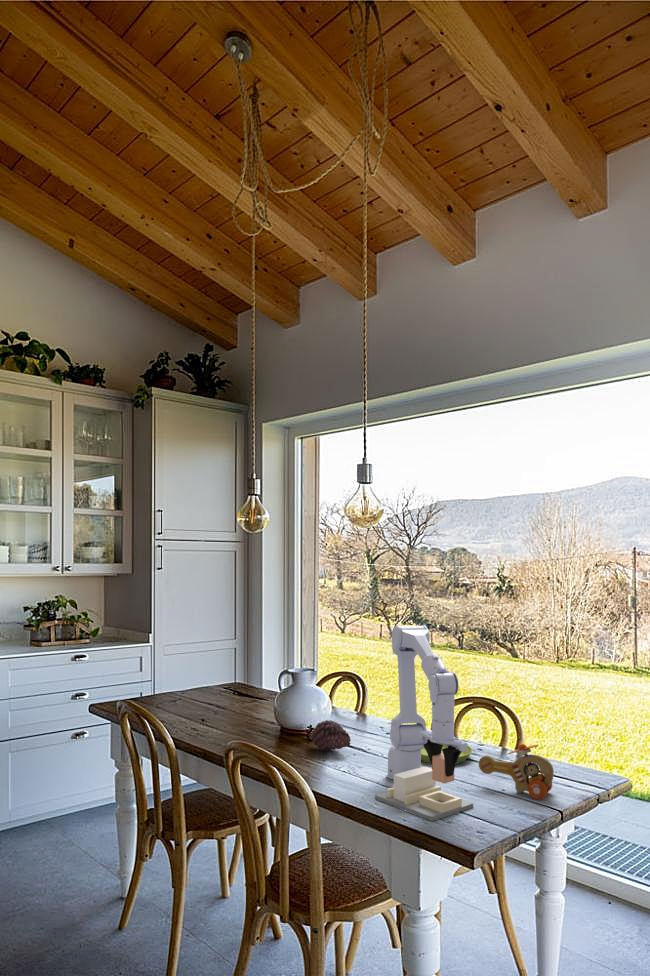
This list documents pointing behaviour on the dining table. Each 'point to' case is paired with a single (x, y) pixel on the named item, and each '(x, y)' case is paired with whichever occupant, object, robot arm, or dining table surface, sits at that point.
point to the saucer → (425, 757)
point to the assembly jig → (427, 803)
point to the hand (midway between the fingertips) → (442, 773)
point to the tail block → (440, 769)
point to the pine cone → (330, 736)
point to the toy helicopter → (523, 771)
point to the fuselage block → (412, 782)
